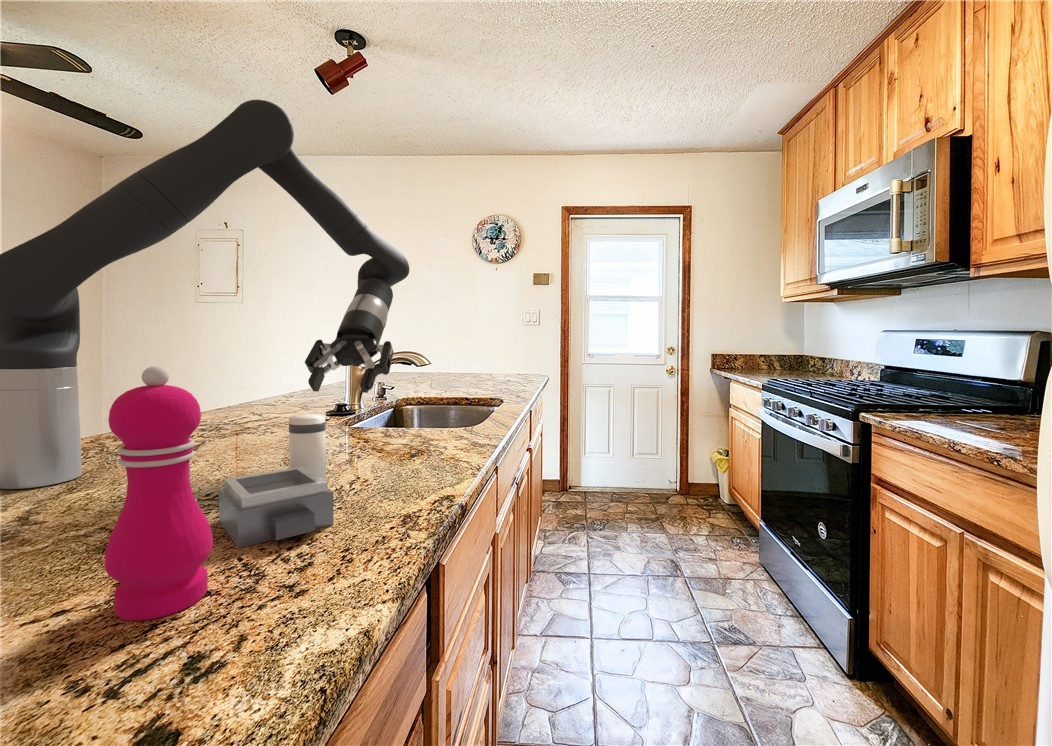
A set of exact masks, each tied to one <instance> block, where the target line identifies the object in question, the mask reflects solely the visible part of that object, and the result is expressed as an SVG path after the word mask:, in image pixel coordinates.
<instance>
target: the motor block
mask: <svg viewBox="0 0 1052 746" xmlns="http://www.w3.org/2000/svg"><path fill="white" fill-rule="evenodd" d="M218 513H219V514H218V516H219V522H220V524H221V525H222V526H224V527H223V528H224V529H225V531H226V532H227V534H228V536H230V539H232V541H233V542H234V545H236V547H237V548H238V549H242V548H246V547H249V546H253V545H256V544H257V545H258V544H261V543H266V542H270V541H273V540H275V541H280V540H283V539H287V538H288V539H289V538H292V537H296V536H299V535H303V534H307V533H311V532H315V530H317V529H321V528H326V527H329V526H334V525H333V524H334V522H335V521H334V519H335V517H334V491H332V490H330V489H329V488H328V482H327V480H326V481H325V480H323V479H322V478H320V477H318V476H317V475H315V474H314V473H312V472H310V471H309V470H307V469H306V468H304V467H296V468H290V467H289V468H285V469H278V470H272V471H266V472H261V473H253V474H247V475H242V476H235V477H229V478H224V479H223V487H220V488H218ZM325 526H326V527H325Z"/></svg>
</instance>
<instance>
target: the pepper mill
mask: <svg viewBox="0 0 1052 746" xmlns="http://www.w3.org/2000/svg"><path fill="white" fill-rule="evenodd" d="M169 374H170V373H169V372H168V371H167V370H166V369H165V368H164V367H162V366H159V365H158V366H157V365H155V366H154V365H153V366H149V367H147V368H145V369H144V370H143V372H142V374H141V380H142V383H144V385H142V386H136V387H134V388H131V389H129V390H127V391H125V392H123V393H122V394H120V395H118V397H116V398H115V400H114V401H113V403H112V404H111V406H110V409H109V414H108V426H109V429H110V430H111V433H113V435H114V436H115V437H117V438H118V439H119V440H121V441H122V443H123V445H122V446H120V447H119V448H118V449H117V452H118V453H119V454H120V455H119V457H120V458H119V460H118V464H119V465H120V466H122V467H125V472H126V478H127V483H126V484H127V486H126V495H125V499H124V504H123V507H122V509H121V512H120V514H119V516H118V518H117V520H116V523H115V525H114V527H113V529H112V531H111V533H110V535H109V537H108V541H107V545H106V548H105V552H104V570H105V571H106V574H107V576H109V577H110V578H111V579H113V580H114V581H116V582H118V583H120V584H119V585H118V586H117V587H116V588H115V589H114V593H113V596H114V597H113V599H114V614H115V615H116V616H117V617H118V618H120V619H121V620H125V621H131V622H132V621H133V622H134V621H135V622H136V621H138V622H139V621H148V620H149V621H150V620H154V619H159V618H163V617H166V616H169V615H173V614H176V613H178V612H180V611H182V610H185V609H187V608H189V607H191V606H193V605H194V604H196V603H197V602H199V601H200V600H201V599H202V598H203V597H204V596H205V595H206V593H207V591H208V587H209V586H208V585H209V584H208V569H207V568H206V567H205V566H203V565H202V564H203V563H204V562H205V561H206V559H208V557H209V556H210V555H211V553H212V550H213V546H214V540H213V531H212V529H211V526H210V523H209V521H208V518H207V517H206V515H205V513H204V512H203V510H202V509H201V506H200V505H199V503H198V500H197V501H196V500H195V499H196V497H195V496H194V492H193V489H192V487H191V485H192V484H191V480H190V477H189V464H190V460H191V459H192V458H194V457H195V456H196V452H195V451H194V446H195V444H196V443H195V441H194V440H193V439H192V438H191V439H190V437H191V436H192V434H193V433H195V430H197V428H198V427H199V425H200V423H201V419H202V418H201V417H202V411H201V408H200V407H201V406H200V403H199V402H198V400H197V398H196V397H195V396H194V395H193V394H192V392H189V391H188V390H186V389H184V388H182V387H180V386H176V385H175V386H174V385H169V384H167V383H168V382H169V379H170V375H169Z"/></svg>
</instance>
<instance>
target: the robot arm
mask: <svg viewBox="0 0 1052 746" xmlns="http://www.w3.org/2000/svg"><path fill="white" fill-rule="evenodd" d="M294 132H295V131H294V125H293V122H292V119H291V118H290V117H289V115H288V113H286V111H285V110H284V109H283V108H282V107H280V106H279V105H277V104H275V103H274V102H272V101H269V100H264V99H250V100H245V101H244V102H242V103H241V104H239V105H238V106H237V107H236V108H235V109H234V110H233V111H231V113H229V114H228V115H227V116H226V117H225V118H224V119H223V120H222V121H220V122H219V123H218V124H217V125H215V126H214V127H213V128H211V129H210V130H208V132H207V133H205V134H203V135H202V136H201V137H199V138H197V139H196V140H194V141H192V142H191V143H188V144H186V145H185V146H182V147H180V148H178V149H176V150H174V151H172V152H170V153H168V154H166V155H164V156H162V157H161V158H158V159H157V160H154V161H153V162H151V163H150V164H148V165H146V166H144V167H143V168H141V169H139V170H137V171H136V172H133V173H132V174H131V175H129V176H127V177H126V178H124V179H123V180H121V181H120V182H118V183H116V184H115V185H114V186H112V187H111V188H110V189H108V190H107V191H105V192H104V193H102V194H101V195H99V196H97V197H96V198H95V199H93V200H91V201H90V202H88V203H86V204H85V205H84V206H83V207H81V208H80V209H78V210H77V211H76V212H74V213H73V214H72V215H71V216H69V217H68V218H67V219H65V220H63V221H62V222H60V223H59V224H57V225H55V226H54V227H52V228H50V229H49V230H47V231H45V232H44V233H41V234H39V235H37V236H35V237H33V238H31V239H28V240H27V241H25V242H23V243H21V244H18V245H16V246H14V247H13V248H10V249H8V250H6V251H4V252H2V253H0V489H1V490H18V489H20V490H21V489H31V488H40V487H46V486H51V485H55V484H60V483H64V482H69V481H72V480H75V479H78V478H79V477H81V476H83V475H82V474H83V470H82V469H83V467H82V466H83V465H82V443H81V442H82V440H81V422H80V421H81V420H80V417H81V416H80V399H79V385H78V384H79V382H78V380H79V379H78V361H77V359H78V352H79V349H80V345H81V344H80V343H81V315H80V295H79V290H78V287H79V286H80V285H82V284H83V283H84V282H86V281H87V280H88V279H90V278H91V277H92V276H94V274H96V273H98V272H99V271H100V270H102V269H103V268H105V267H107V266H108V265H110V264H113V263H114V262H117V261H119V260H121V259H124V258H126V257H128V256H130V255H133V254H136V253H139V252H141V251H143V250H145V249H148V248H150V247H152V246H154V245H156V244H158V243H160V242H162V241H163V240H165V239H167V238H169V237H170V236H172V235H173V234H175V233H176V232H178V231H179V230H181V229H182V228H183V227H185V226H187V225H188V223H191V222H192V221H193V220H194V219H196V218H197V217H198V216H199V215H201V214H202V213H203V212H204V211H205V210H206V209H208V207H210V206H211V205H212V204H213V203H214V202H215V201H216V200H217V199H218V198H219V197H221V195H222V194H223V193H224V192H225V191H226V190H227V189H228V188H230V186H231V185H234V183H235V182H236V181H239V179H241V178H242V177H244V176H246V175H247V174H249V173H251V172H253V171H254V170H256V169H259V170H260V171H262V172H263V173H265V174H266V175H267V176H268V177H269V178H270V179H271V180H273V181H274V182H275V183H276V184H278V186H280V187H281V188H282V189H283V190H284V191H285V192H286V193H288V194H289V195H290V197H292V198H293V200H295V201H296V202H297V204H299V205H300V207H302V208H303V210H305V211H306V212H307V214H309V216H310V217H311V218H312V219H313V220H314V221H315V222H316V223H317V224H318V225H319V227H321V229H322V230H323V231H324V232H325V233H326V234H327V235H328V236H329V237H330V238H331V239H332V241H334V243H336V245H337V246H338V247H340V249H341V250H343V251H342V252H344V253H345V254H346V255H348V256H351V257H355V256H359V255H366V256H369V257H371V258H369V259H367V260H366V261H365V262H364V263H362V265H361V266H360V268H359V269H358V273H357V288H356V289H357V290H356V292H355V293H354V295H353V298H352V300H351V302H350V303H349V305H348V307H347V308H346V311H345V314H344V316H343V318H342V321H341V323H340V325H339V327H338V329H337V332H336V338H335V339H334V340H333V341H332V342H331V343H326V342H325V343H324V341H323V340H322V339H316V341H314V342H315V343H314V344H313V346H312V347H311V349H310V351H309V353H308V355H307V356H306V359H305V360H304V364H305V366H306V368H307V369H308V371H309V373H310V376H309V379H308V380H307V381H308V385H309V387H310V388H311V390H312V392H319V391H320V389H321V386H322V384H323V381H324V379H325V375H327V373H329V372H330V371H335V370H337V369H338V368H340V367H347V366H352V367H360V366H362V365H364V368H365V370H364V372H363V376H362V378H361V381H360V384H359V386H360V390H361V391H362V393H363V394H364V393H365V394H368V393H369V391H370V390H372V389H373V387H374V383H375V382H376V381H375V380H376V377H378V376H379V375H381V374H382V375H383V376H386V375H388V374H390V371H391V366H392V361H393V357H394V349H393V345H392V343H391V341H390V340H387V341H384V342H383V344H380V342H381V339H382V336H383V332H384V330H385V329H386V325H387V322H388V314H389V311H390V308H391V306H392V302H393V299H394V298H393V297H394V291H393V289H392V287H393V286H394V285H397V284H398V283H400V282H402V281H403V280H405V279H406V278H407V277H408V276H409V274H410V264H409V261H408V259H407V258H406V256H405V255H404V253H402V252H401V251H400V249H398V248H397V247H396V246H394V245H392V244H391V243H390V242H389V241H387V240H386V239H384V238H383V237H382V236H381V235H379V234H377V233H376V232H374V231H373V230H372V229H371V228H370V227H369V226H368V225H367V223H366V222H365V221H364V220H363V219H362V218H361V217H360V216H359V214H358V213H357V212H356V211H355V210H354V208H352V207H351V205H349V204H348V203H347V202H346V201H345V200H344V199H343V198H342V197H341V196H340V195H339V194H337V192H335V191H333V189H332V188H330V187H329V186H328V185H327V184H325V183H324V182H323V181H322V180H320V178H319V177H317V176H316V175H315V174H314V172H312V171H311V170H310V169H309V167H307V165H306V164H305V163H304V161H302V159H301V158H300V157H299V155H298V154H297V153H296V152H295V150H294V148H293V147H292V146H293V143H294V139H295V134H294ZM378 353H379V354H380V359H379V362H378V363H375V362H374V361H373V359H372V358H373V357H374V356H376V355H377V354H378ZM333 358H335V361H334V359H333Z"/></svg>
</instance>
